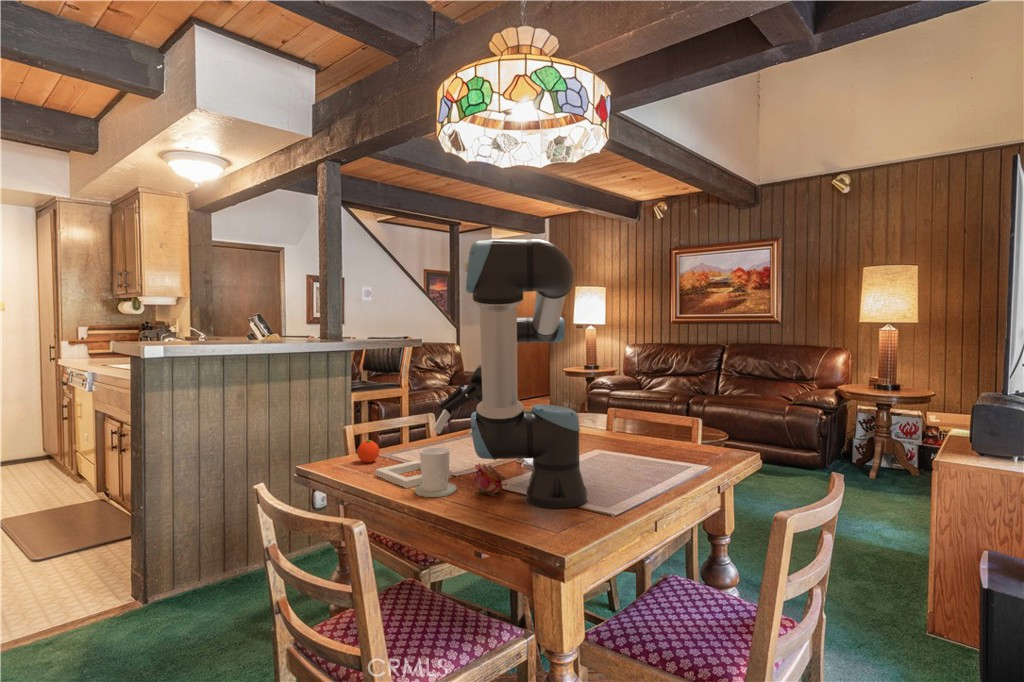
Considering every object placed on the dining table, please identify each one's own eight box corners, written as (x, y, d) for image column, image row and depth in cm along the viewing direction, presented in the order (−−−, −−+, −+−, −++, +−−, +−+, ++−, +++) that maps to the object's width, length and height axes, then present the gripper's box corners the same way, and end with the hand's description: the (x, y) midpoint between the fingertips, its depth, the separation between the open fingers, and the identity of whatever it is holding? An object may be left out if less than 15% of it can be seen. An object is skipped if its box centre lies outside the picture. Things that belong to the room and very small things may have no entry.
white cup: (453, 483, 150) (452, 447, 150) (446, 492, 142) (446, 454, 142) (425, 483, 151) (424, 447, 151) (417, 492, 143) (416, 454, 143)
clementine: (362, 458, 182) (361, 437, 182) (383, 458, 182) (382, 437, 182) (354, 465, 174) (353, 442, 174) (376, 465, 174) (375, 442, 174)
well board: (451, 477, 159) (451, 470, 159) (406, 488, 149) (406, 481, 149) (419, 466, 172) (419, 460, 172) (375, 476, 162) (375, 469, 162)
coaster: (464, 491, 146) (464, 488, 146) (429, 500, 139) (429, 497, 139) (441, 482, 154) (441, 479, 154) (406, 491, 147) (406, 488, 147)
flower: (475, 496, 136) (493, 468, 137) (458, 480, 144) (475, 454, 145) (500, 510, 142) (517, 483, 143) (482, 494, 149) (499, 468, 150)
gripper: (527, 384, 158) (495, 446, 147) (462, 380, 173) (429, 436, 162) (515, 367, 154) (481, 430, 143) (450, 364, 169) (415, 420, 158)
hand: (453, 433), depth 152 cm, fingers open, 13 cm apart
